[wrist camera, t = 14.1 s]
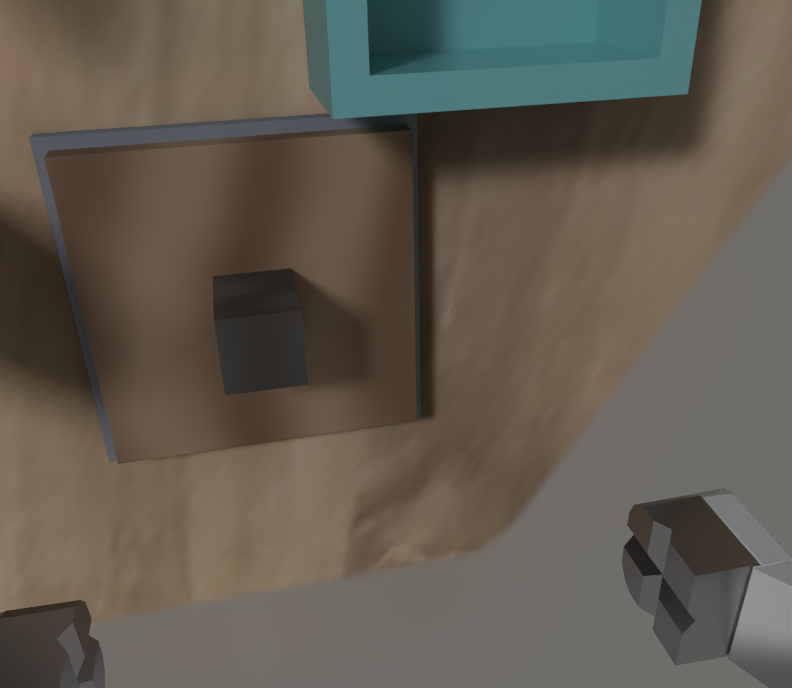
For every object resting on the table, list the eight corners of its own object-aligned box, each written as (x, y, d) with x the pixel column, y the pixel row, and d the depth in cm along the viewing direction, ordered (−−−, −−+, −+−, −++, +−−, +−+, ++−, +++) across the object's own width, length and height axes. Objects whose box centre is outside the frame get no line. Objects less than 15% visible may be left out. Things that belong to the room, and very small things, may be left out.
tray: (413, 107, 30) (417, 110, 29) (417, 410, 36) (420, 416, 36) (32, 134, 27) (29, 137, 27) (111, 453, 34) (109, 461, 33)
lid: (406, 124, 29) (441, 155, 25) (411, 408, 35) (439, 473, 31) (49, 150, 27) (19, 189, 23) (120, 450, 33) (107, 526, 29)
